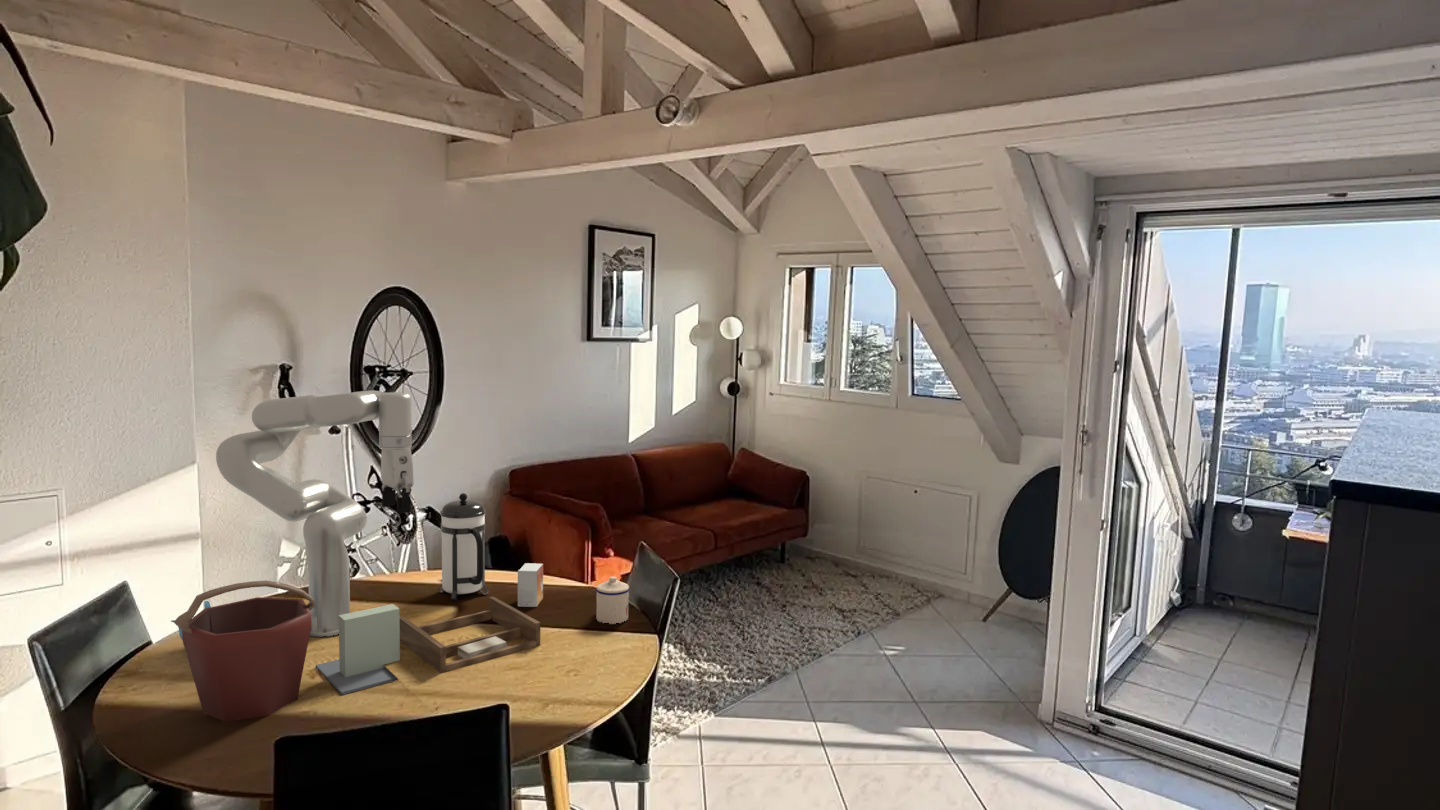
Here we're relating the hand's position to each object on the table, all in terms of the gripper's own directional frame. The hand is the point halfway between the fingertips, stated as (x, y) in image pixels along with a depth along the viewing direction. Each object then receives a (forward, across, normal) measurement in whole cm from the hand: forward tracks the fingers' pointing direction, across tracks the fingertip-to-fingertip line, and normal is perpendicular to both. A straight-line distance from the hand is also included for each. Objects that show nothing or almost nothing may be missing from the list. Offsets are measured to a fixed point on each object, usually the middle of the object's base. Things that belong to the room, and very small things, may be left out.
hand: (396, 509), depth 202 cm
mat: (+32, -18, +13) cm, 39 cm away
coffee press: (+32, +18, -27) cm, 46 cm away
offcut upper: (+31, -28, -10) cm, 43 cm away
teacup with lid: (+32, -24, -49) cm, 64 cm away
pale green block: (+32, -18, +13) cm, 39 cm away
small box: (+33, 0, -38) cm, 50 cm away
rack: (+32, -20, -10) cm, 39 cm away
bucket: (+33, -18, +37) cm, 52 cm away
